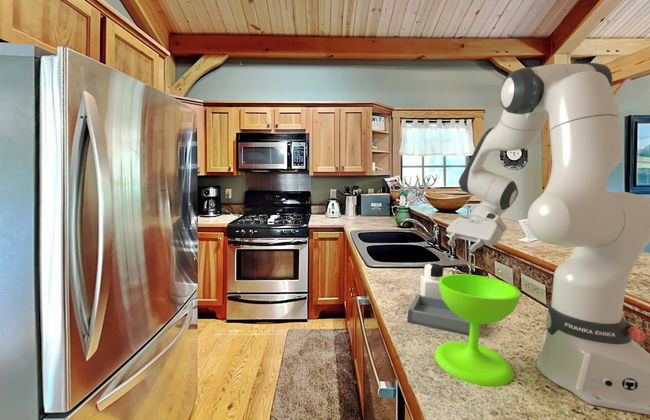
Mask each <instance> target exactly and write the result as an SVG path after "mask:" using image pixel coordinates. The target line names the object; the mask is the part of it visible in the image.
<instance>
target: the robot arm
mask: <svg viewBox="0 0 650 420" xmlns="http://www.w3.org/2000/svg"><path fill="white" fill-rule="evenodd" d="M612 86H613V75H612V72H611V69H610V68H609V67H608V66H607V65H606V64H602V63H596V62H585V63H563V64H562V63H552V64H544V65H540V66H539V65H538V66H533V67H528V66H527V67H522V68H520V69H519V68H518V69H516V70H514V71H511V72H510V73H508V75H507V76H506V77H505V79H504V81H503V82H502V84H501V90H500V104H501V107H502V108H503V110H502V113H501V116H500V119H499V121H498V123H497V125H496V126H495V127H490V128H489V129H487V130H486V131H485V132H484V134H483V135H482V136H481V138H480V140H479V141H478V142H477V145H476V147H475V149H474V151H473V153H472V155H471V156H470V159H469V161H468V162H467V165H466V166H465V169H464V170H463V172H462V173H461V175H460V177H459V179H458V185H459V187H460V190H461V191H462V192H463V193H466V194H470V195H473V196H475V197H478V198H479V199H481V201H480V202H479V203H478V204H477V205H476V206H474V208H473V209H472V210H471V212H470V213H469V214H468V216H463V215H462V216H460V217H457V218H455V219H454V220H453V221H452V222H451V223H450V224H449V225H448V226H447V227H446V231H445V232H446V233H447V234H448V235H449V240H448V241H447V244H448V246H450V247H454V246H455V245H456V243H455V240H457V239H461V240H465V241H469V242H473V244H470V245H468V247H467V250H468V251H469V252H470V253H471V252H472V253H474V252H475V251H476V250H477V249H479V248H481V247H483V246H484V245H486V246H489V247H493V246H495V245H497V244H498V243H499V241H500V240H501V238H502V237H503V235H504V233H505V232H506V231H507V230H508V227H507V225H506V223H505V222H504V221H503V219H502V218H501V216H502V215H503V214H504V213H506V211H507V210H508V209H509V208H510V207H511V206H512V205H513V203H514V202H515V201H516V199H517V197H518V195H519V190H518V186H517V184H516V182H515V181H514V180H512V179H510V178H508V177H506V176H502V175H500V174H497V173H495V172H492V171H490V170H488V169H486V168H484V166H483V165H484V163H485V162H486V160H487V158H488V156H489V154H490V152H495V151H506V152H507V151H508V152H512V151H518V150H522V149H525V148H528V147H529V146H531V145H533V144H534V143H535V142H536V141H537V139H538V138H539V136H540V134H541V132H542V131H543V128H544V126H545V124H546V120H547V119H548V125H549V139H550V148H551V160H552V161H551V171H550V176H549V179H548V182H547V185H546V187H545V188H544V191H543V192H542V194H541V195H539V196H538V197H537V198H536V199H535V200H534V201H533V202H532V204H531V205H530V207H529V209H528V212H527V217H526V219H527V225H528V229H529V230H530V232H531V234H532V235H533V236H534V237H535V238H536V239H537V240H538V241H540V242H542V243H545V244H550V245H554V246H561V247H565V248H566V247H567V248H573V251H572V252H571V254H570V255H569V256H568V257H567V258H566V260H565V261H563V262H561V263H560V264H559V265H558V266H557V267H556V268H555V271H554V272H553V273H554V274H553V282H552V292H551V301H550V303H549V304H548V306H547V307H548V309H547V312H546V323H545V326H546V330H547V331H546V337H545V340H544V344H543V347H542V350H541V352H540V354H539V357H538V359H537V360H536V367H537V369H538V370H539V372H540V373H542V374H543V375H544V376H545V377H546V378H548V380H550V381H551V382H553V383H555V384H556V385H558V386H560V387H562V388H564V389H566V390H568V391H570V392H572V393H573V394H574V395H575V396H576V397H578V398H579V399H581V400H582V401H584V402H585V403H586V404H587V403H588V404H590V405H593V406H598V407H603V408H608V409H615V410H621V411H626V412H632V413H638V414H643V415H648V416H650V353H649V352H648V351H647V350H645V349H644V348H643V347H642V346H641V345H639V343H637V342H644V340H646V338H647V337H646V333H644V331H642V330H641V329H640V328H638V327H636V326H634V325H633V324H632V323H631V322H629V321H628V320H627V319H624V318H623V316H622V315H623V310H624V309H623V308H624V301H625V297H626V296H625V295H626V288H627V284H628V281H629V278H630V276H631V273H632V270H633V268H634V267H635V265H636V263H637V261H638V260H639V258H640V256H641V254H642V252H643V251H644V249H645V248H646V247H647V246H648V244H650V197H647V196H643V195H640V194H637V193H632V192H628V191H607V188H608V187H607V185H608V180H609V176H610V173H611V171H612V169H613V168H615V167H616V166H617V165H619V164H620V162H621V161H622V160H623V158H624V154H625V150H624V144H623V143H624V142H623V136H622V128H621V121H620V120H621V119H620V115H619V114H620V113H619V109H618V104H617V100H616V97H615V93H614V92H613V91H614V90H613V88H612Z"/></svg>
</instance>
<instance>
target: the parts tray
mask: <svg viewBox="0 0 650 420" xmlns="http://www.w3.org/2000/svg"><path fill="white" fill-rule="evenodd" d="M407 323H410V324H413V325H418V326H419V325H420V326H423V327H428V328H433V329H438V330H442V331H445V332H450V333H451V332H452V333H456V334H460V335H465V336H469V332H470V322H469V321H466V320H464V319H462V318H460V317H459V316H457V315H456V314H455V313H454V312H452V311H451V310H450V309H449V308H448V306H447V305H446V303H445V302H444V301H443V299H440V298H434V297H428V296H423V295H420V294H416V295H415V297H414V299H413V300H412V303H411V304H410V306H409V308H408V310H407Z"/></svg>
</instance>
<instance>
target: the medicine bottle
mask: <svg viewBox="0 0 650 420" xmlns="http://www.w3.org/2000/svg"><path fill="white" fill-rule="evenodd" d="M443 276H444V267H443V266H442V265H440V264H437V263H428V264H425V265H424V274H423V275H421V276H420V287H419V295H423V296H428V297H434V298H440V299H443V298H442V295H441V293H440V290H439V279H440V278H441V277H443Z"/></svg>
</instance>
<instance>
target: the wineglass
mask: <svg viewBox="0 0 650 420" xmlns="http://www.w3.org/2000/svg"><path fill="white" fill-rule="evenodd" d="M439 290H440V293H441V295H442V298H443V301H444V302H445V303H446V305H447V306H448V308H449V309H450V310H451V311H452V312H454V313H455V314H456V315H457V316H459V317H460V318H462V319H464V320H466V321H469V322H470V332H469V335H468V341H462V340H461V341H458V340H457V341H448V342H445V343H442V344H441V345H439V346H438V347H437V348H436V350H435V352H434V360H435V361H436V363H437V365H438V366H439V367H440V368H442V370H443V371H444V372H446V373H448V374H449V375H451V376H452V377H453V378H456V379H458V380H461V381H462V382H466V383H469V384H471V385H477V386H482V387H501V386H505V385H508V384H509V383H511V382H512V380H513V379H514V377H515V376H514V370H513V368H512V365H511V364H510V362H509V361H508V360H507V359H506V358H504V356H502V355H501V354H499V353H498V352H497V351H495V350H493V349H492V348H489V347H487V346H483V345H481V344H479V337H480V326H481V325H490V324H494V323H497V322H500V321H503V320H504V319H506V318H507V317H508V316H509V315H511V314H512V313H513V312H514V311H515V308H516V307H517V306H518V304H519V301H520V297H521V290H520V289H518V288H517V287H516V286H514V285H512V284H511V283H509V282H507V281H504V280H500V279H497V278H493V277H489V276H483V275H476V274H469V273H468V274H467V273H464V274H462V273H455V274H454V273H453V274H447V275H443V277H441V278H440V279H439Z"/></svg>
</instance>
